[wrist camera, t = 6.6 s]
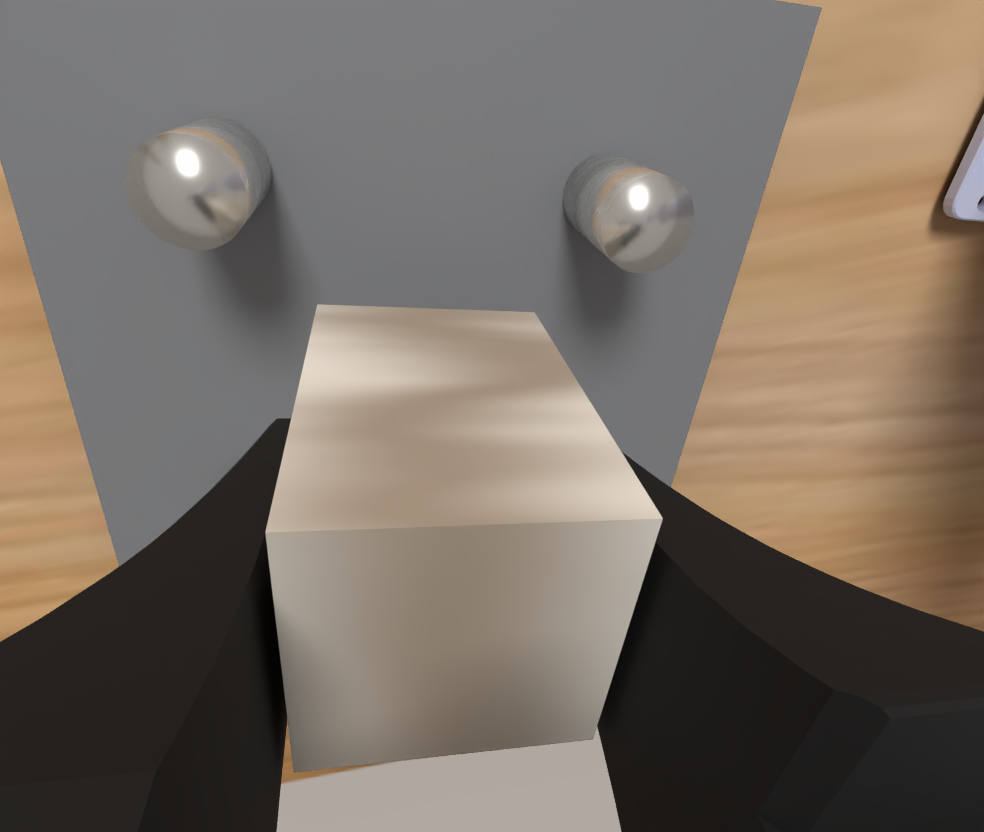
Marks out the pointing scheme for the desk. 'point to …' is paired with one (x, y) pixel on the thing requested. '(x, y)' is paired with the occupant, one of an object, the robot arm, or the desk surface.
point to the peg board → (377, 200)
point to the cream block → (448, 540)
